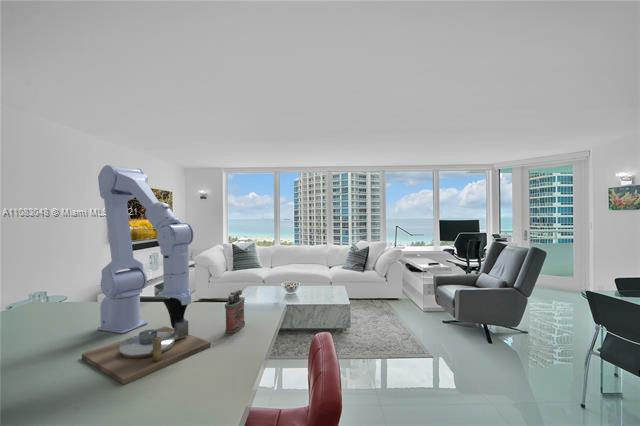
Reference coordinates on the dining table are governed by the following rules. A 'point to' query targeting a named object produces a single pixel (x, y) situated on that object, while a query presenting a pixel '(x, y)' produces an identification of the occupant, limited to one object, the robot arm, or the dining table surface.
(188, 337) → the walnut board
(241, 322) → the lighter
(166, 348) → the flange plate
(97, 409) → the dining table surface
